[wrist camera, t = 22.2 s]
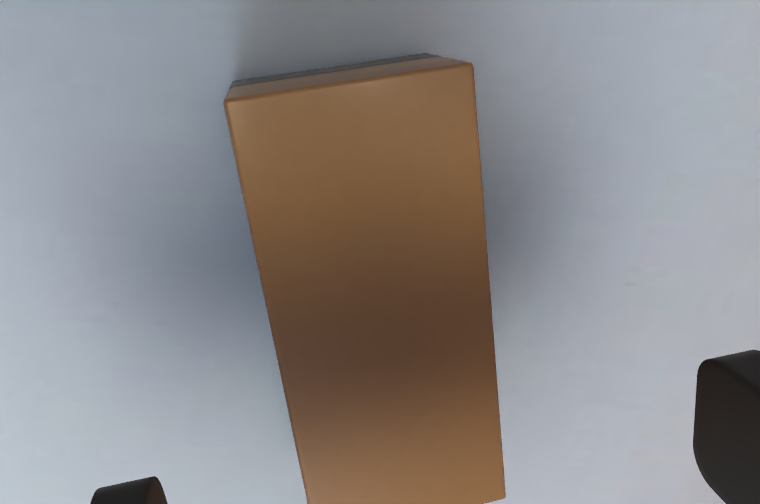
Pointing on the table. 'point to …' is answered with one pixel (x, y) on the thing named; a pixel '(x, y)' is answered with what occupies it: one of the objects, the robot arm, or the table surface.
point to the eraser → (376, 275)
